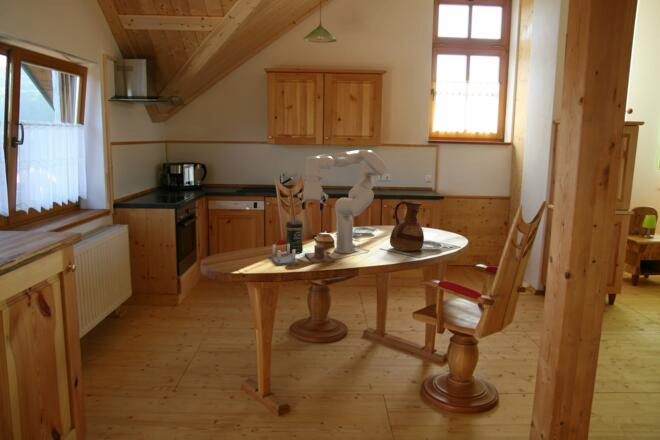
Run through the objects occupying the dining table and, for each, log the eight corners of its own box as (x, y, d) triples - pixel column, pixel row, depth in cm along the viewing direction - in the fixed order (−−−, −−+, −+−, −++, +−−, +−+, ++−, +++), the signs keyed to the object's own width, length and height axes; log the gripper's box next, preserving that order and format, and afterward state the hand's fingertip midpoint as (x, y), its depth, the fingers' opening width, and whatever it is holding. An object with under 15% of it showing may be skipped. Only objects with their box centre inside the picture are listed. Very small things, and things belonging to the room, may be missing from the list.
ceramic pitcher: (423, 254, 301) (424, 203, 295) (388, 252, 305) (389, 201, 299) (423, 247, 320) (425, 198, 314) (390, 245, 323) (392, 197, 318)
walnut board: (324, 254, 301) (324, 241, 299) (334, 263, 282) (334, 249, 281) (304, 255, 297) (304, 243, 296) (313, 264, 279) (313, 250, 277)
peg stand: (290, 255, 295) (290, 242, 294) (298, 264, 276) (298, 250, 275) (269, 257, 292) (269, 244, 290) (276, 266, 273) (276, 252, 271)
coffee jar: (290, 254, 298) (289, 222, 295) (284, 251, 305) (283, 220, 301) (305, 252, 303) (305, 221, 300) (298, 250, 310) (298, 219, 306)
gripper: (329, 179, 288) (329, 209, 291) (299, 177, 292) (299, 208, 294) (327, 180, 281) (326, 211, 284) (296, 178, 284) (295, 210, 287)
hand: (312, 209), depth 289 cm, fingers open, 9 cm apart
